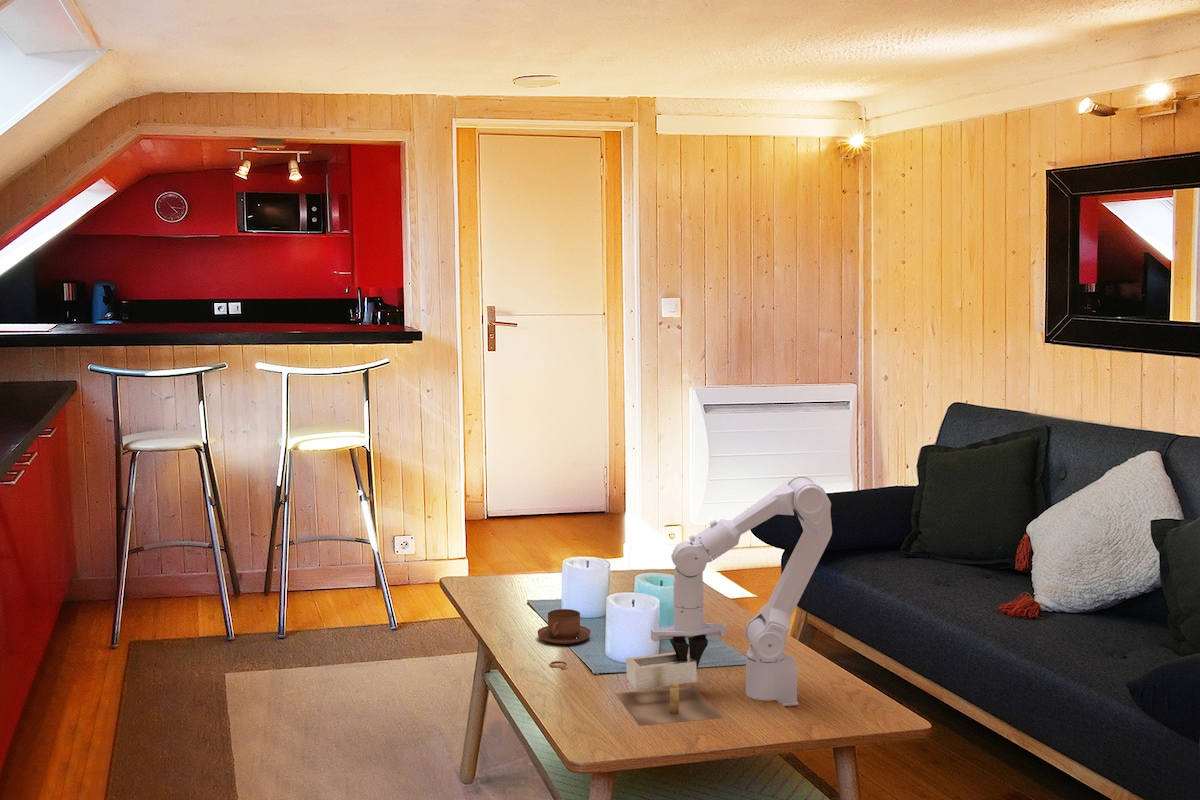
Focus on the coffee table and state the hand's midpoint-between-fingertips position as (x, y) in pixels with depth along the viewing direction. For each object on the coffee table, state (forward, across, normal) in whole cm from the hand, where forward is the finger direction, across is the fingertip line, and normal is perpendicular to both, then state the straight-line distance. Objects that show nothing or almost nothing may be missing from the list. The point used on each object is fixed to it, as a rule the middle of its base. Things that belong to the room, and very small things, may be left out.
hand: (688, 674), depth 224 cm
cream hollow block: (+1, +5, 0) cm, 5 cm away
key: (+6, +18, -22) cm, 29 cm away
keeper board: (+6, +6, +4) cm, 9 cm away
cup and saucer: (+6, +15, -45) cm, 48 cm away
